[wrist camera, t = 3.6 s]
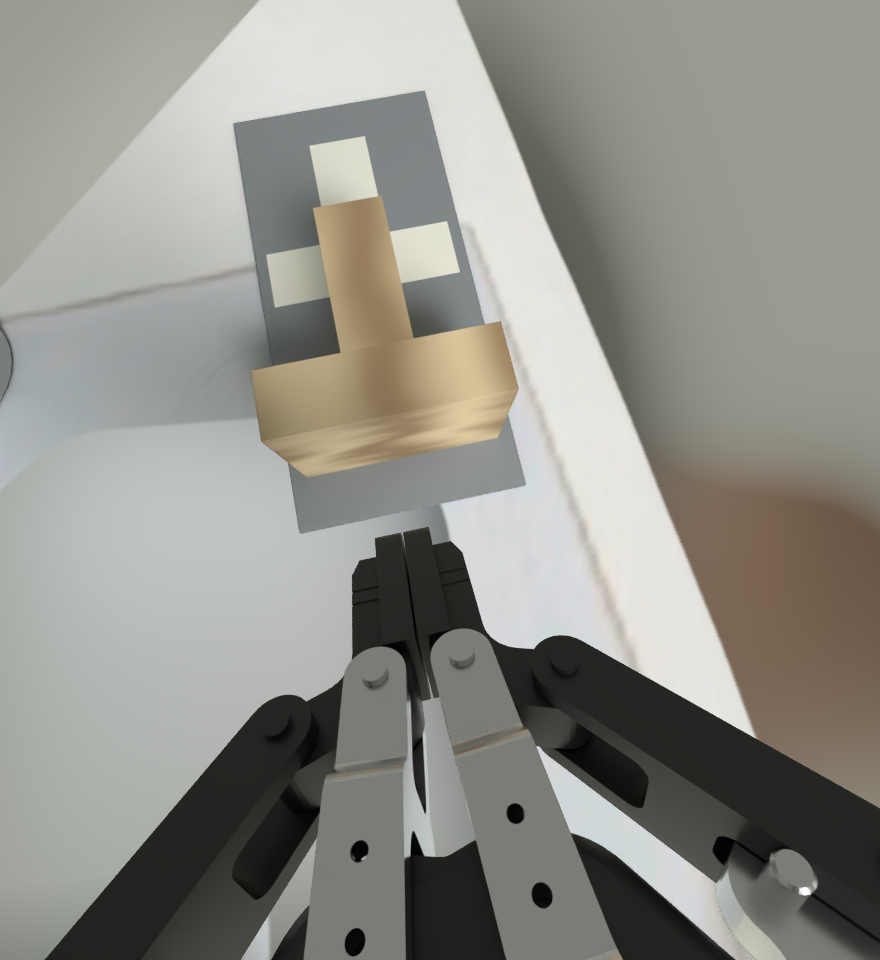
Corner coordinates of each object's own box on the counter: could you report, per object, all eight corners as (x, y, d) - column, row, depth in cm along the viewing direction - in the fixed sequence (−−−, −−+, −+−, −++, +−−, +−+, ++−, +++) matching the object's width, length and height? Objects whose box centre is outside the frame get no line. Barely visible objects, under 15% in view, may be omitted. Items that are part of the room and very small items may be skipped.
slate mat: (301, 533, 30) (299, 532, 29) (235, 128, 35) (233, 123, 35) (524, 485, 30) (526, 484, 30) (424, 95, 36) (424, 90, 36)
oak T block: (307, 477, 30) (261, 441, 22) (279, 310, 32) (228, 223, 24) (497, 437, 30) (518, 389, 23) (457, 276, 33) (463, 180, 25)
